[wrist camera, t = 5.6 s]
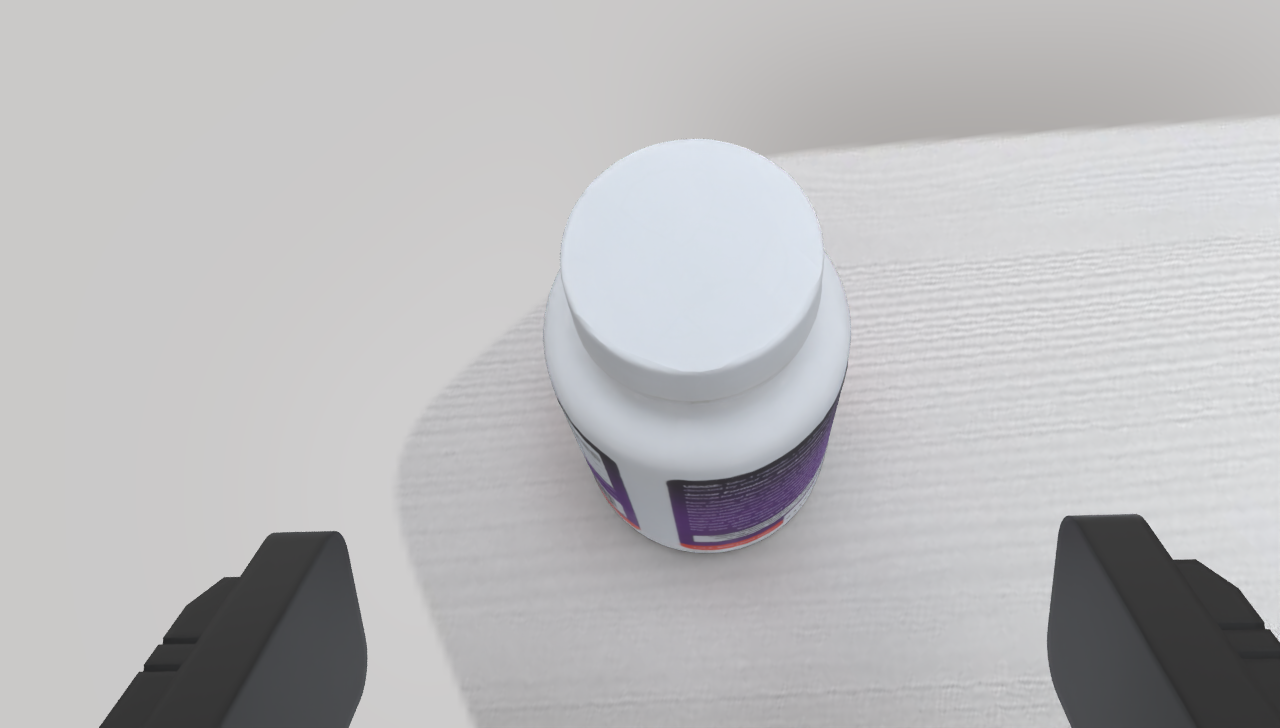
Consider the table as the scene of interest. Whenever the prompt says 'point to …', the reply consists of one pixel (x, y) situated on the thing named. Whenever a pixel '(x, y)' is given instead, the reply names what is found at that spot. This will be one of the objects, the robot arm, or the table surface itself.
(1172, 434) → the table surface
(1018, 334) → the table surface
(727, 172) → the pill bottle
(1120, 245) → the table surface
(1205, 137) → the table surface
